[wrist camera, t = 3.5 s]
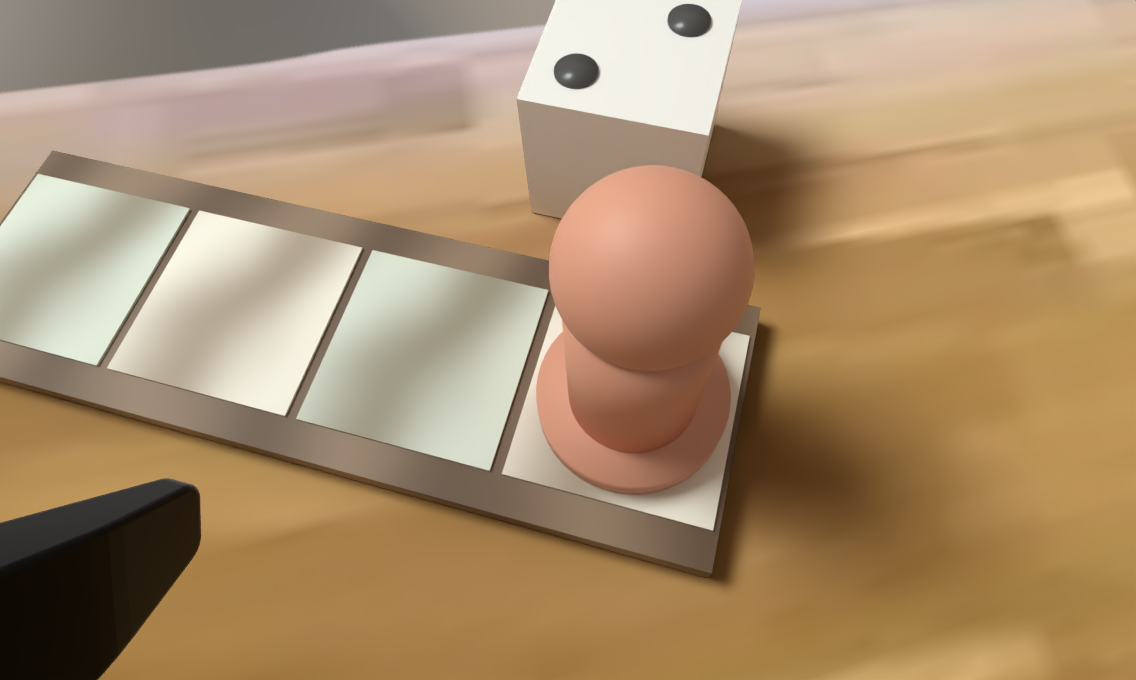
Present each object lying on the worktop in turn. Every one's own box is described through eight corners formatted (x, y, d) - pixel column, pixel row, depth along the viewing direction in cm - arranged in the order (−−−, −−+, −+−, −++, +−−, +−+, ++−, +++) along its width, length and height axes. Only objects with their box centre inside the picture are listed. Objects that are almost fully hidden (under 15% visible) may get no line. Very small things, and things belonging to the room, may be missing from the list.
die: (714, 123, 29) (743, -6, 24) (684, 244, 27) (709, 133, 21) (572, 96, 30) (568, -34, 24) (531, 212, 28) (516, 96, 22)
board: (754, 321, 25) (761, 306, 24) (706, 577, 22) (712, 573, 21) (69, 166, 29) (50, 148, 28) (-68, 362, 26) (-95, 350, 25)
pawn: (762, 390, 23) (881, 191, 14) (647, 535, 21) (692, 423, 12) (617, 286, 25) (632, 46, 15) (499, 413, 23) (434, 229, 14)
